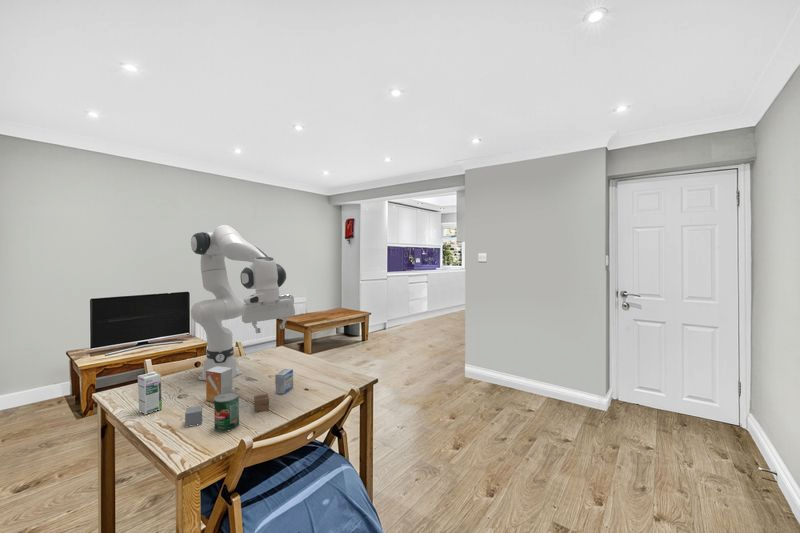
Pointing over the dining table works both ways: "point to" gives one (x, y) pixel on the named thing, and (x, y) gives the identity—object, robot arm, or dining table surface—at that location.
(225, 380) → the small box
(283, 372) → the medicine box
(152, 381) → the syrup box
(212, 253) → the robot arm
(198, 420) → the slate block
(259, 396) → the walnut block
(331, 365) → the dining table surface
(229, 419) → the canned tomato
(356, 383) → the dining table surface
